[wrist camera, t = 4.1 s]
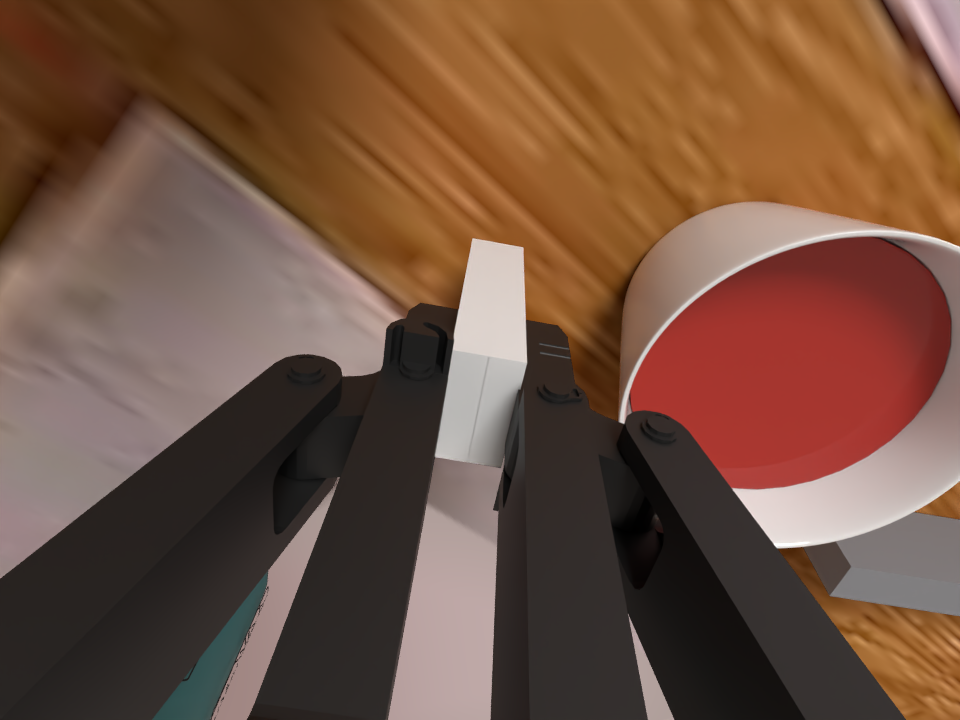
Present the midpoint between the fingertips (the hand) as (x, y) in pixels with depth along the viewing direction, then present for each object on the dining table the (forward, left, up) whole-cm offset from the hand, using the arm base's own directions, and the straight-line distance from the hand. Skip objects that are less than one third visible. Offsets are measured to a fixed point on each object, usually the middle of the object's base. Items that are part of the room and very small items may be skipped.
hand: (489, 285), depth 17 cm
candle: (0, +8, -2) cm, 8 cm away
